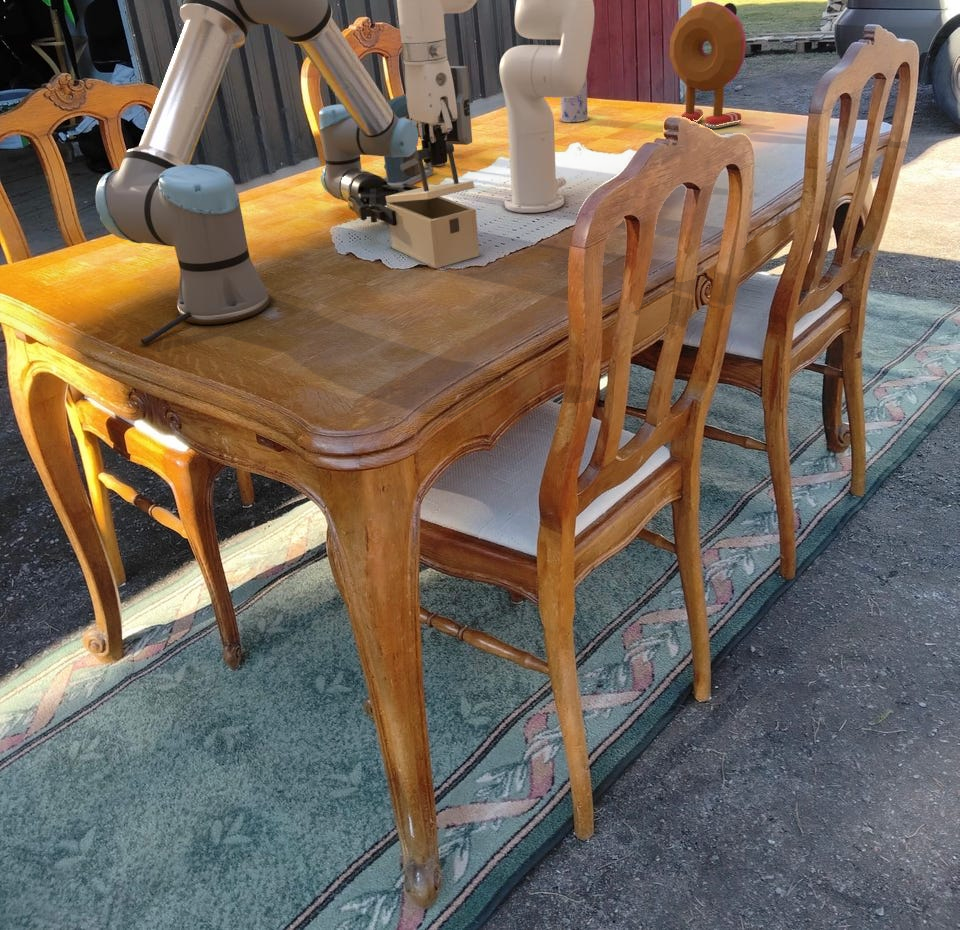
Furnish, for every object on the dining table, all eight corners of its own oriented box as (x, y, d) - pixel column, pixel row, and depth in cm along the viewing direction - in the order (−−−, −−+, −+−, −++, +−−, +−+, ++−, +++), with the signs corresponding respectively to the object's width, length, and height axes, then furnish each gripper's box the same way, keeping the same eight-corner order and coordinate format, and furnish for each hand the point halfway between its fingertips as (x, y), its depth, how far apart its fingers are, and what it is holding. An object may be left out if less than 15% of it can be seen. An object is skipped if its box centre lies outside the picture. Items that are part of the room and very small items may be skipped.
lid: (474, 187, 174) (465, 139, 171) (428, 199, 169) (418, 150, 167) (430, 192, 188) (420, 148, 185) (386, 202, 184) (376, 157, 181)
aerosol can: (559, 122, 275) (557, 47, 265) (562, 117, 282) (559, 42, 272) (587, 121, 274) (585, 45, 263) (589, 115, 280) (587, 41, 270)
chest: (479, 256, 180) (475, 209, 176) (435, 268, 176) (430, 221, 172) (434, 236, 193) (429, 192, 188) (392, 247, 189) (386, 203, 184)
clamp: (400, 190, 224) (389, 93, 213) (369, 188, 228) (356, 93, 217) (473, 154, 250) (466, 66, 239) (444, 152, 254) (436, 66, 243)
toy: (751, 123, 256) (760, -2, 241) (731, 131, 250) (739, 4, 235) (683, 117, 270) (686, -2, 254) (662, 124, 263) (664, 3, 248)
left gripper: (414, 197, 208) (468, 219, 191) (320, 220, 199) (368, 244, 182) (410, 162, 204) (465, 181, 188) (314, 183, 195) (363, 205, 178)
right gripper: (468, 52, 159) (476, 165, 169) (420, 45, 171) (431, 151, 180) (429, 59, 156) (440, 174, 165) (383, 51, 168) (396, 159, 177)
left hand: (418, 212), depth 185 cm, fingers closed on chest, 10 cm apart
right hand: (435, 162), depth 173 cm, fingers closed on lid
